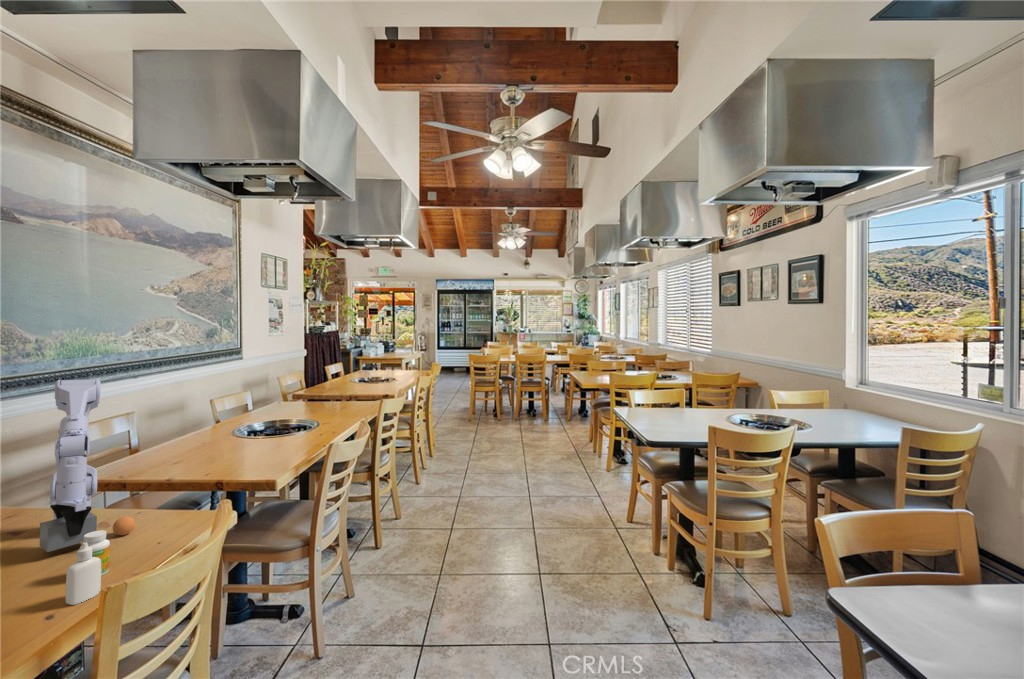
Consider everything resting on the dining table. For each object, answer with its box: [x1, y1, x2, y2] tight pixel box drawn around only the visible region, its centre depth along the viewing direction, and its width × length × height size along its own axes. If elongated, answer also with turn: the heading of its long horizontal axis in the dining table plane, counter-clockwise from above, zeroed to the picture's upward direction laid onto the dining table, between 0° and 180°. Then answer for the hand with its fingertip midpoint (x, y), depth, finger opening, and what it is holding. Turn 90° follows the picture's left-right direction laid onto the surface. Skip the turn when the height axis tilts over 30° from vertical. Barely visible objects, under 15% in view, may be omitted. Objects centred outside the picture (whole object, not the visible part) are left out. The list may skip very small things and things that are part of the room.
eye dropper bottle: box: [65, 542, 102, 606], centre depth 98 cm, size 4×6×12 cm
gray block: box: [39, 512, 98, 553], centre depth 120 cm, size 6×10×6 cm, turn 149°
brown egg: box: [112, 516, 136, 536], centre depth 130 cm, size 5×5×5 cm
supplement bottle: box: [79, 530, 111, 577], centre depth 108 cm, size 5×5×10 cm
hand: (70, 532), depth 120 cm, fingers closed on gray block, 6 cm apart
